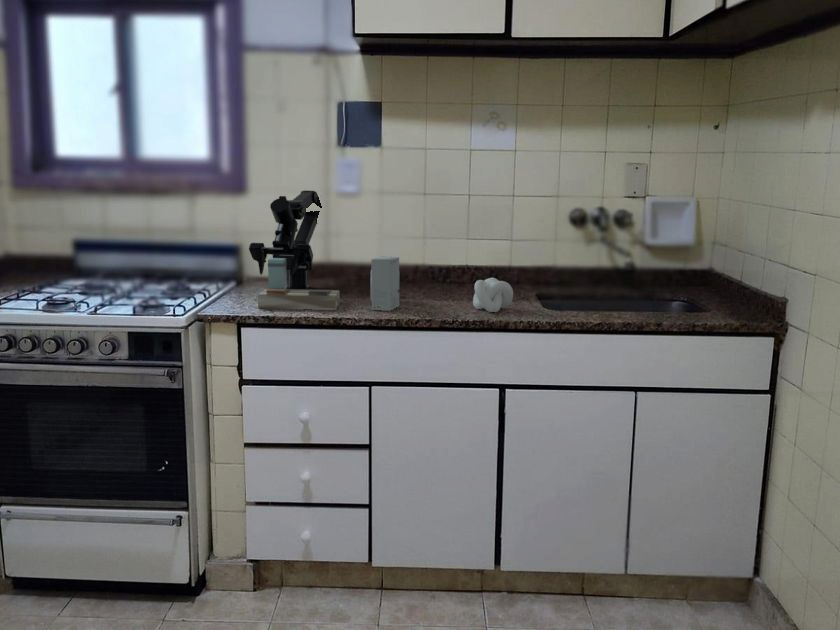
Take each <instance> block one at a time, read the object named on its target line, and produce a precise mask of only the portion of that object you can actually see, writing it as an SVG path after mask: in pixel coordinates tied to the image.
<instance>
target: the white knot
mask: <svg viewBox="0 0 840 630" xmlns="http://www.w3.org/2000/svg"><path fill="white" fill-rule="evenodd" d="M473 289H474V294H473V299H472V305H473V307H474V308H475V309H476V310H478V309H480V310H483V309H484V310H486V311H487V312H489V313H491V312H495V313H498V312H499V311H500V310H501V309H500V308H502V309H505V308H507V307H508V306H509V305H510V304H511V303H512V301H513V297H514V291H513V287H512V286H511V284H510V283H509V282H507V281H504V280H499V279H497V278H495V277H490V278H489V277H488V278H486V279H484V280H483V279H478V280H476V282H475V283H474V287H473Z"/></svg>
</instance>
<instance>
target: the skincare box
mask: <svg viewBox="0 0 840 630" xmlns="http://www.w3.org/2000/svg"><path fill="white" fill-rule="evenodd" d="M370 262H371V265H370V266H372V301H371V310H372V311H380V310H381V311H380V312H392V311H393V310H395V309H397V308H399V307H400V257H399V256H378V257H373V258H371V261H370ZM396 307H397V308H396ZM394 308H395V309H394ZM391 310H392V311H391Z"/></svg>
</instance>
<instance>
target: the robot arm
mask: <svg viewBox="0 0 840 630" xmlns="http://www.w3.org/2000/svg"><path fill="white" fill-rule="evenodd" d="M318 195H319V194H318V193H317V191H315V190H301V191H300V193H299V194H298V195H297V196H296V197H294V198H293V199H292V200H291V199H290V200H288V199H287V196H286V195H280V196H278V198H276V199H275V200H273V201H272V202H271V203H270V207H269V208H270V210H271V212H272V215H273V217H274V218H273V219H274V221H275V223H276V224H278V226H277V228H276V229H277V230H275V231H274V235H275V237H274V240H272V243H271V244H272V247H271V246H269V247H268V246H266V245H265V244H264V242H251V243H250V244H249V247H248V250H249V254H250V255H251V258H252V260H253V261H256V262H257V264H258V268H259V275H261V276H262V275H263V273H264V269H265V263H266V262H267V260H266V259H267V257H268V255H272V258H286V262H287V265H286V271H287V270H288V283H289V285H287V289H306V290H308V288H309V287H310V284H307V283H308V280H307V279H308V277H307V276H308V275H307V274H308V271H312V270H313V259H314V253H313V249H312V246H311V245H310V242H311V239H312V237H313V235H314V231H315V229H316V227H317V224H318V223H317V218H318V215H319V212H320V211H314V212H313V211H310V212H306V208H308V207H309V206H310V205H311V204H312V203H315V204H316V205H317V206H319V207H320V208H322V206H321V203H320V200H319V197H318ZM300 220H301V221H302V222H301V223H300V225H298V224H299V223H298V221H300ZM298 226H299V228H298Z"/></svg>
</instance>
